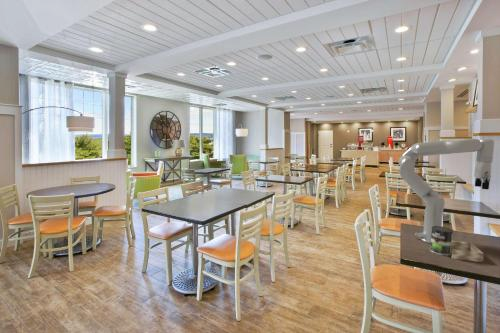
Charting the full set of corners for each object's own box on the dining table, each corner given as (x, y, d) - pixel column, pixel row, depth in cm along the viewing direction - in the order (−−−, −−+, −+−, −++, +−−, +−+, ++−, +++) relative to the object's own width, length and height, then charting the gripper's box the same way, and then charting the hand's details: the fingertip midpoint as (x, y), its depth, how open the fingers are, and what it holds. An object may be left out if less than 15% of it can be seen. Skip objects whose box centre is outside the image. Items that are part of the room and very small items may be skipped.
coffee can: (445, 257, 155) (447, 232, 154) (426, 250, 164) (428, 227, 163) (454, 253, 160) (456, 229, 159) (435, 247, 169) (437, 224, 168)
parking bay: (452, 258, 154) (452, 249, 153) (443, 247, 169) (443, 239, 168) (482, 262, 149) (483, 253, 149) (470, 251, 164) (471, 242, 163)
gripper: (470, 158, 176) (468, 185, 178) (483, 160, 160) (480, 189, 161) (485, 159, 173) (482, 185, 175) (499, 161, 157) (496, 190, 159)
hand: (481, 187), depth 168 cm, fingers open, 9 cm apart
